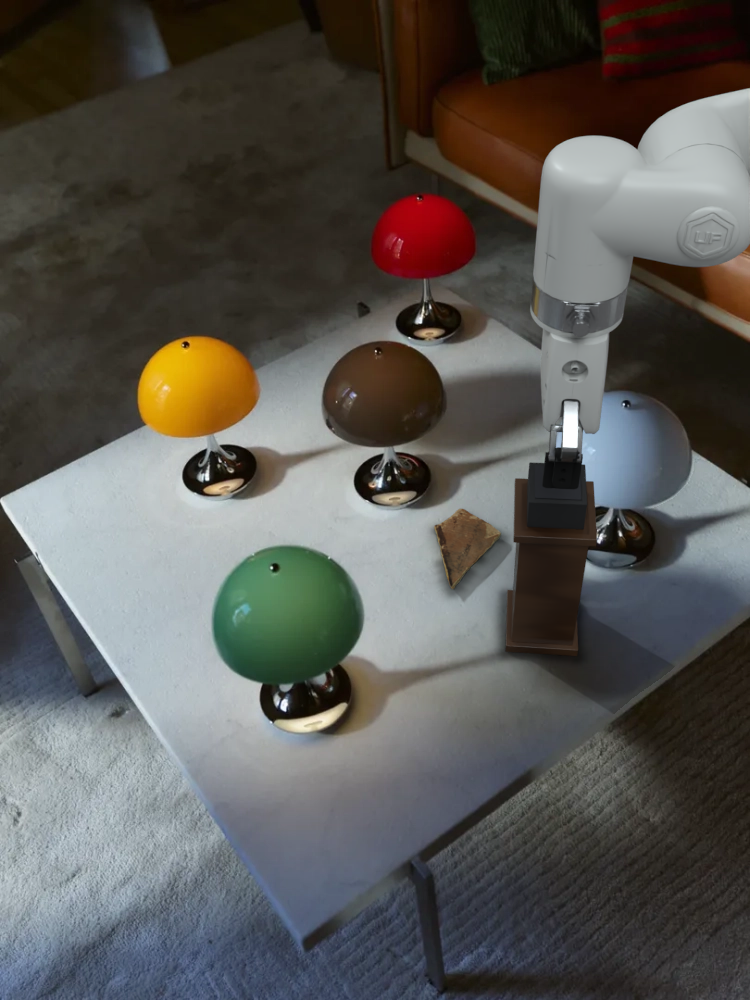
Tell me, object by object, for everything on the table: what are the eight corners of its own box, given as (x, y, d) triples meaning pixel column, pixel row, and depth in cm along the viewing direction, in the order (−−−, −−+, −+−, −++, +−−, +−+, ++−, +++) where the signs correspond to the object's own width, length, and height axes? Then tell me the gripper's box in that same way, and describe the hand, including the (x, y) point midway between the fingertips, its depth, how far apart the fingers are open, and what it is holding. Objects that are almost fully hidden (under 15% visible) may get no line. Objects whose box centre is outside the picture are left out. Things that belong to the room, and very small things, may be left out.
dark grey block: (581, 489, 96) (585, 463, 94) (583, 529, 93) (587, 504, 90) (527, 487, 97) (529, 461, 94) (526, 527, 93) (529, 501, 91)
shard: (450, 594, 113) (450, 585, 112) (401, 564, 117) (401, 554, 115) (503, 539, 118) (504, 530, 117) (454, 512, 122) (454, 503, 121)
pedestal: (575, 599, 112) (593, 481, 97) (577, 656, 106) (597, 540, 92) (506, 595, 112) (515, 477, 98) (505, 651, 107) (513, 536, 93)
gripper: (633, 365, 70) (604, 519, 83) (619, 239, 82) (595, 391, 94) (531, 362, 71) (517, 515, 83) (531, 237, 83) (519, 388, 95)
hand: (559, 449), depth 89 cm, fingers open, 9 cm apart
